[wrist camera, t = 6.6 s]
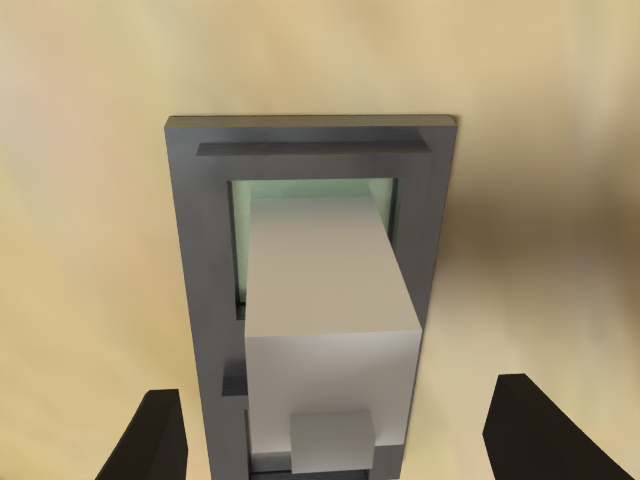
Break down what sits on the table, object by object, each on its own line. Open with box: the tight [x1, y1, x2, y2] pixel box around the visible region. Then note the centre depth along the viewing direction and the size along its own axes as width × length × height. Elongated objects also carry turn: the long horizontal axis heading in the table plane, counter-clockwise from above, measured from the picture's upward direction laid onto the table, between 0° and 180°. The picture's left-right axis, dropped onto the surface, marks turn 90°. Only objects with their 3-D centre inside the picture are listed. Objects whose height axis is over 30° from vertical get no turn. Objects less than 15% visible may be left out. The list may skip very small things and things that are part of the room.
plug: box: [244, 196, 422, 474], centre depth 16 cm, size 4×4×7 cm
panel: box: [164, 115, 458, 480], centre depth 21 cm, size 9×18×2 cm, turn 179°
